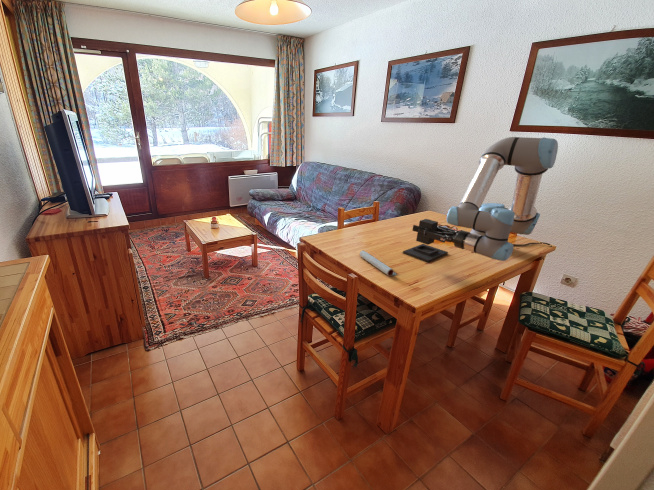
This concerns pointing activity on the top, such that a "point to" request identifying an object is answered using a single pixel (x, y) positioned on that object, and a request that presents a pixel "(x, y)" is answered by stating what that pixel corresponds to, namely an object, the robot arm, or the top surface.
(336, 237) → the top surface
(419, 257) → the base pad
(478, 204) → the robot arm
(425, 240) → the black rectangular block
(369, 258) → the aluminum foil
